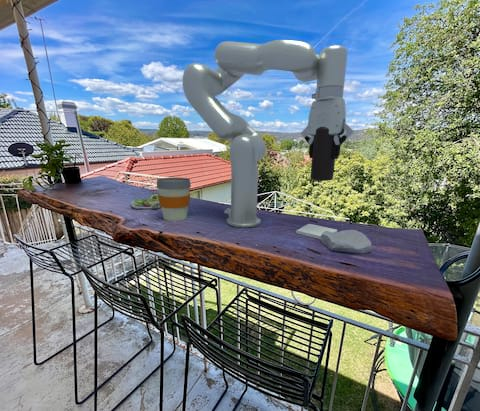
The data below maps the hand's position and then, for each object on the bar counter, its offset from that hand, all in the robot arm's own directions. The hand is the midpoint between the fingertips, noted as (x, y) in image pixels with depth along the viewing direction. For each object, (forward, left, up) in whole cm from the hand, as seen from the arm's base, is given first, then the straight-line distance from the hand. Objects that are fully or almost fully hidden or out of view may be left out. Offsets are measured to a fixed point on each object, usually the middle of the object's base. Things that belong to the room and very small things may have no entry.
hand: (323, 157), depth 74 cm
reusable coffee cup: (-49, -20, -25) cm, 59 cm away
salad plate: (-75, -15, -25) cm, 81 cm away
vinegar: (0, 0, -7) cm, 7 cm away
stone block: (+11, -6, -25) cm, 28 cm away
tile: (0, +1, -25) cm, 25 cm away
